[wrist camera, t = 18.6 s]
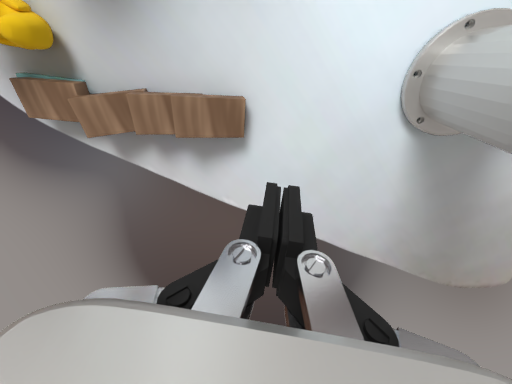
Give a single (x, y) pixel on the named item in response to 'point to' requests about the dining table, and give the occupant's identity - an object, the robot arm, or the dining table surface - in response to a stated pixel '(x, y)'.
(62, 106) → the tile
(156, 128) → the tile
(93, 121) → the tile
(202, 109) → the tile
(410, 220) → the dining table surface
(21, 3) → the duckling
